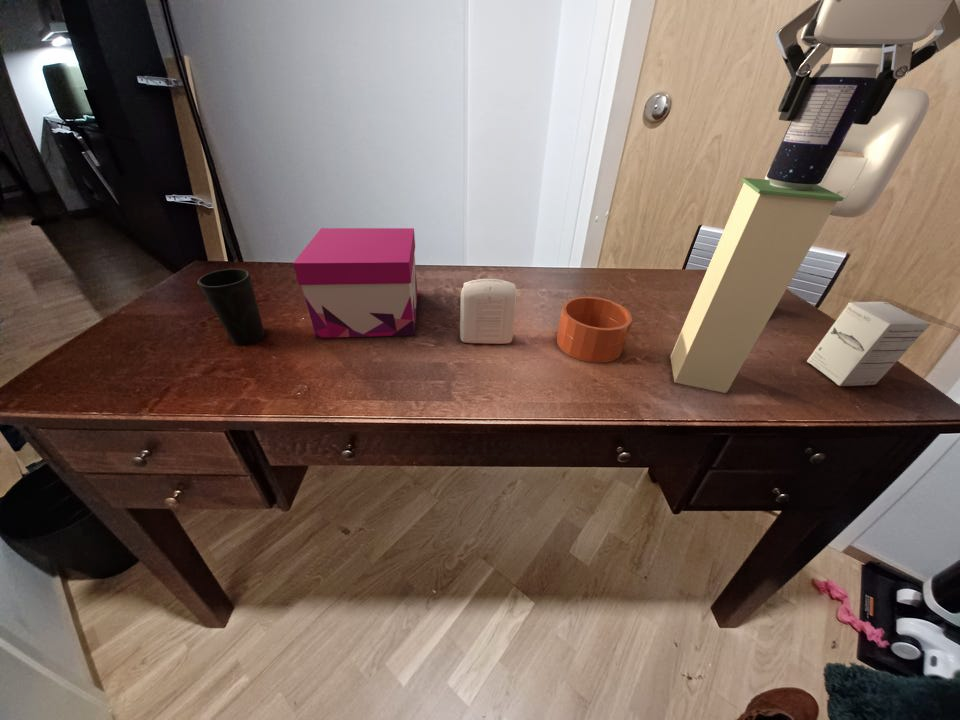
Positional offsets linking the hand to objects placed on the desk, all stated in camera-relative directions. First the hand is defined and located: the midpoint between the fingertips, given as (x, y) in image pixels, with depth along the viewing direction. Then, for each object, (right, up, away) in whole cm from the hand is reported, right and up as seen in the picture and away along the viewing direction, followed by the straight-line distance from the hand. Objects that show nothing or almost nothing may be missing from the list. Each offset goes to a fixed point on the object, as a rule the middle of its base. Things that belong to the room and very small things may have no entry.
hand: (821, 120), depth 42 cm
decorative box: (-62, -18, +36) cm, 74 cm away
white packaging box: (+25, -30, +24) cm, 46 cm away
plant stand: (-1, -30, +22) cm, 37 cm away
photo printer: (-38, -24, +29) cm, 54 cm away
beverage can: (0, -6, +4) cm, 7 cm away
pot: (-18, -24, +29) cm, 42 cm away
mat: (0, -6, +4) cm, 7 cm away
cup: (-83, -23, +28) cm, 91 cm away
